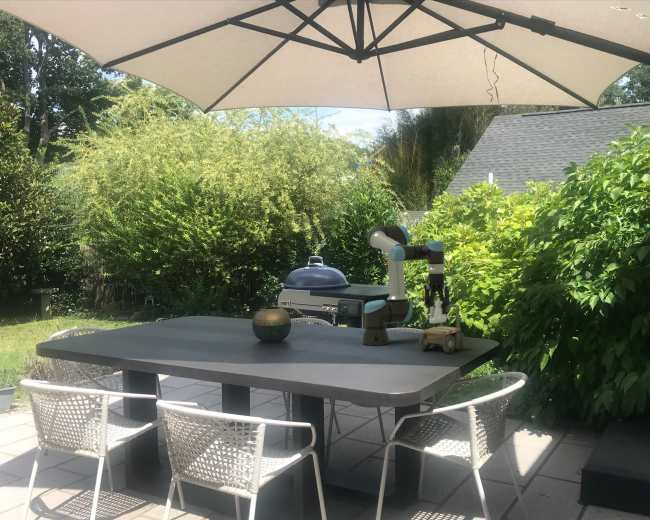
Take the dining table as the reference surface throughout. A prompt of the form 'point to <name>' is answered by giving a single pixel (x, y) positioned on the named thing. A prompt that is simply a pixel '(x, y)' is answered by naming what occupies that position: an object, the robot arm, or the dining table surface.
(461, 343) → the wooden trolley
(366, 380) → the dining table surface
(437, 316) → the sitting furry creature
